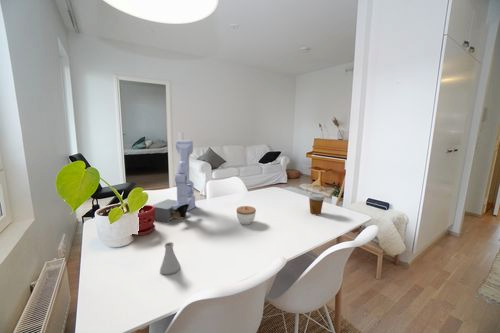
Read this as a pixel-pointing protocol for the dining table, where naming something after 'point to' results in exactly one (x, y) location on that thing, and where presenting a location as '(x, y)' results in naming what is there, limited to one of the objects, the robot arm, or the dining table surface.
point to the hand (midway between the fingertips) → (183, 217)
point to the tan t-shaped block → (174, 214)
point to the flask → (169, 261)
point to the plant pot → (146, 219)
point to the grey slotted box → (164, 209)
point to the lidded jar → (246, 214)
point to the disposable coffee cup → (316, 203)
